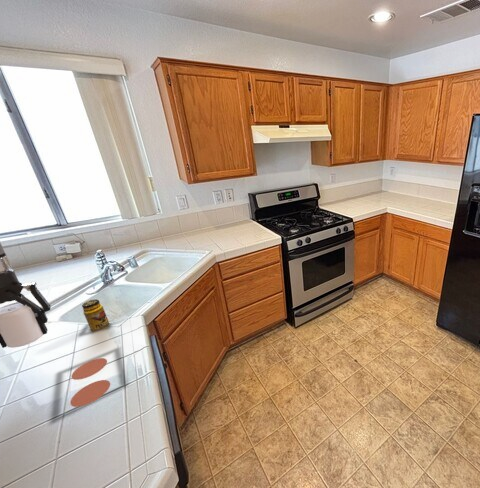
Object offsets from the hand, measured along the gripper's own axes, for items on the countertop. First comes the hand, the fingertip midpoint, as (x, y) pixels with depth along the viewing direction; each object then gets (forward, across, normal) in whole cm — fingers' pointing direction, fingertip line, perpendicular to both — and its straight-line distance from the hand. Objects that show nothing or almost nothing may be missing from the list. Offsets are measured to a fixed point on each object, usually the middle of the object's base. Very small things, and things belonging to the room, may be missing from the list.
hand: (26, 338), depth 82 cm
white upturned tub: (+1, 0, 0) cm, 1 cm away
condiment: (+13, +15, +17) cm, 26 cm away
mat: (+13, +12, -18) cm, 25 cm away
